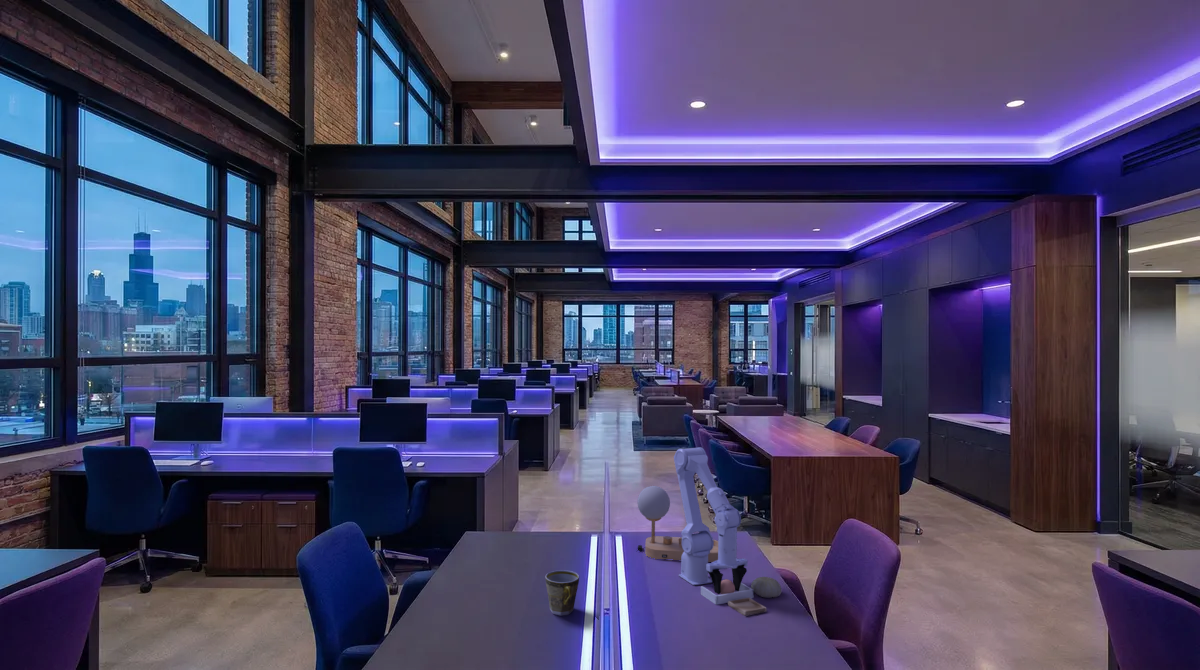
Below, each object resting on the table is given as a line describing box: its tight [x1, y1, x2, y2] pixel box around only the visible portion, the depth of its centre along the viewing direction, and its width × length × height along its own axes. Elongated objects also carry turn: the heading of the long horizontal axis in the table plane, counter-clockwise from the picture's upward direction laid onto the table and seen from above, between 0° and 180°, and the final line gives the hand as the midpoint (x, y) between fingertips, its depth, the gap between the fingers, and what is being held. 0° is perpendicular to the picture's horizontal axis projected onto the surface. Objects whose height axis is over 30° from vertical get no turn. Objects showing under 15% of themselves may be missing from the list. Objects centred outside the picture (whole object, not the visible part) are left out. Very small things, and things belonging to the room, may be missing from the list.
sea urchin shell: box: [750, 576, 783, 599], centre depth 188 cm, size 9×8×8 cm
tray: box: [727, 598, 767, 617], centre depth 176 cm, size 8×8×1 cm
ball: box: [720, 579, 736, 595], centre depth 186 cm, size 5×5×5 cm
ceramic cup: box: [544, 569, 580, 616], centre depth 171 cm, size 13×10×10 cm
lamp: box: [636, 485, 718, 562], centre depth 226 cm, size 33×17×25 cm, turn 84°
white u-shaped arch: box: [700, 582, 755, 605], centre depth 185 cm, size 8×14×2 cm, turn 114°
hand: (726, 591), depth 185 cm, fingers open, 7 cm apart
